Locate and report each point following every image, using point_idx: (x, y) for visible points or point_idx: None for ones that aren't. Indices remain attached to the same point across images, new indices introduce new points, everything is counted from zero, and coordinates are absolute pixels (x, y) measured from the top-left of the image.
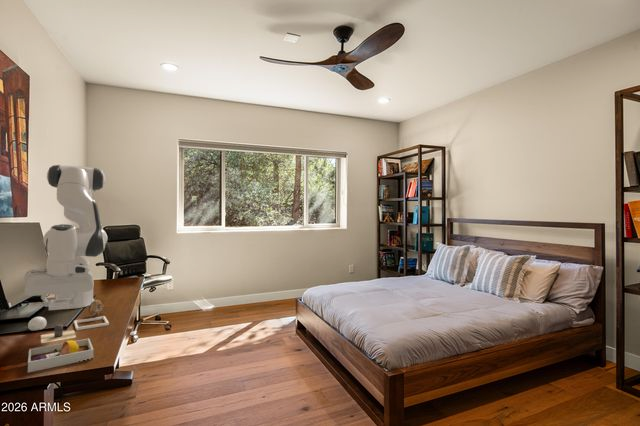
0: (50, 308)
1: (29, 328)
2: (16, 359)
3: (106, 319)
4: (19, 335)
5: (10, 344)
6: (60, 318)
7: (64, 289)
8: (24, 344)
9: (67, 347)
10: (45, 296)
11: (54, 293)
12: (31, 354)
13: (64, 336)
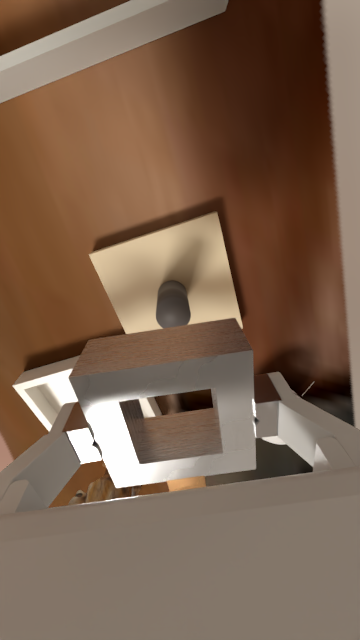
0: (225, 326)
1: (293, 391)
2: (279, 24)
3: (44, 423)
4: (311, 366)
5: (328, 277)
6: (224, 482)
7: (98, 573)
8: (281, 260)
9: None
10: (327, 450)
11: (237, 486)
12: None
13: (145, 282)
